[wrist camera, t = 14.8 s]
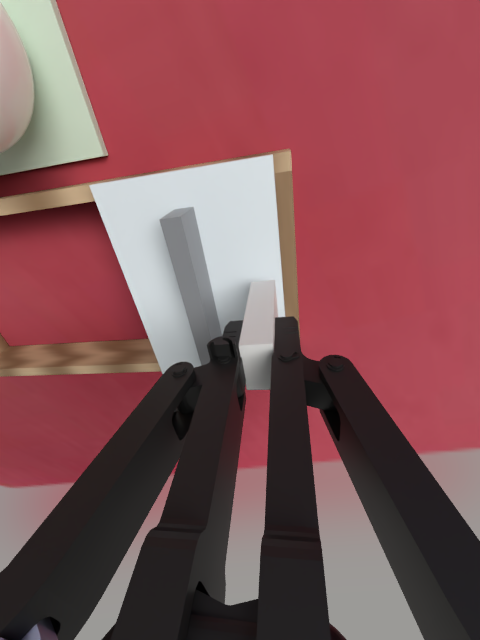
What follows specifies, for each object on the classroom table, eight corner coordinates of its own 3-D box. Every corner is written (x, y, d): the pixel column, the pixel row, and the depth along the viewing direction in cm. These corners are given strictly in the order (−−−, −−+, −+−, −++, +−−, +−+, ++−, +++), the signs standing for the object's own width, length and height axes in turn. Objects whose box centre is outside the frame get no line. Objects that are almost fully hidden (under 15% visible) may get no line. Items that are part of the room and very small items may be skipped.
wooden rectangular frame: (7, 353, 34) (-24, 377, 30) (-96, 213, 25) (-154, 225, 22) (298, 339, 27) (301, 366, 24) (289, 148, 19) (291, 150, 16)
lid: (168, 374, 26) (154, 402, 23) (96, 183, 18) (60, 192, 15) (289, 370, 24) (290, 401, 21) (272, 154, 16) (271, 157, 13)
